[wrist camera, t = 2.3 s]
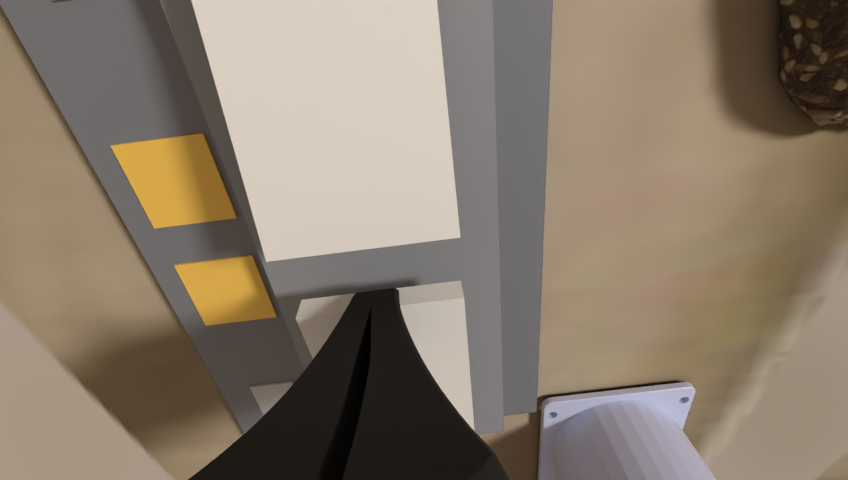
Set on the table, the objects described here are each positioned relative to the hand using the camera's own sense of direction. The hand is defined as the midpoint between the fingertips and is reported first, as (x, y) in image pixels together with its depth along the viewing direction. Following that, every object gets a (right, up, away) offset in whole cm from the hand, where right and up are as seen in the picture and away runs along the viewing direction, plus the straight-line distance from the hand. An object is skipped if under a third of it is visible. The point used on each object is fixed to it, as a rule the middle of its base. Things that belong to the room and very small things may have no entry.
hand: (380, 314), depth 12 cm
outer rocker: (-1, +7, -3) cm, 7 cm away
